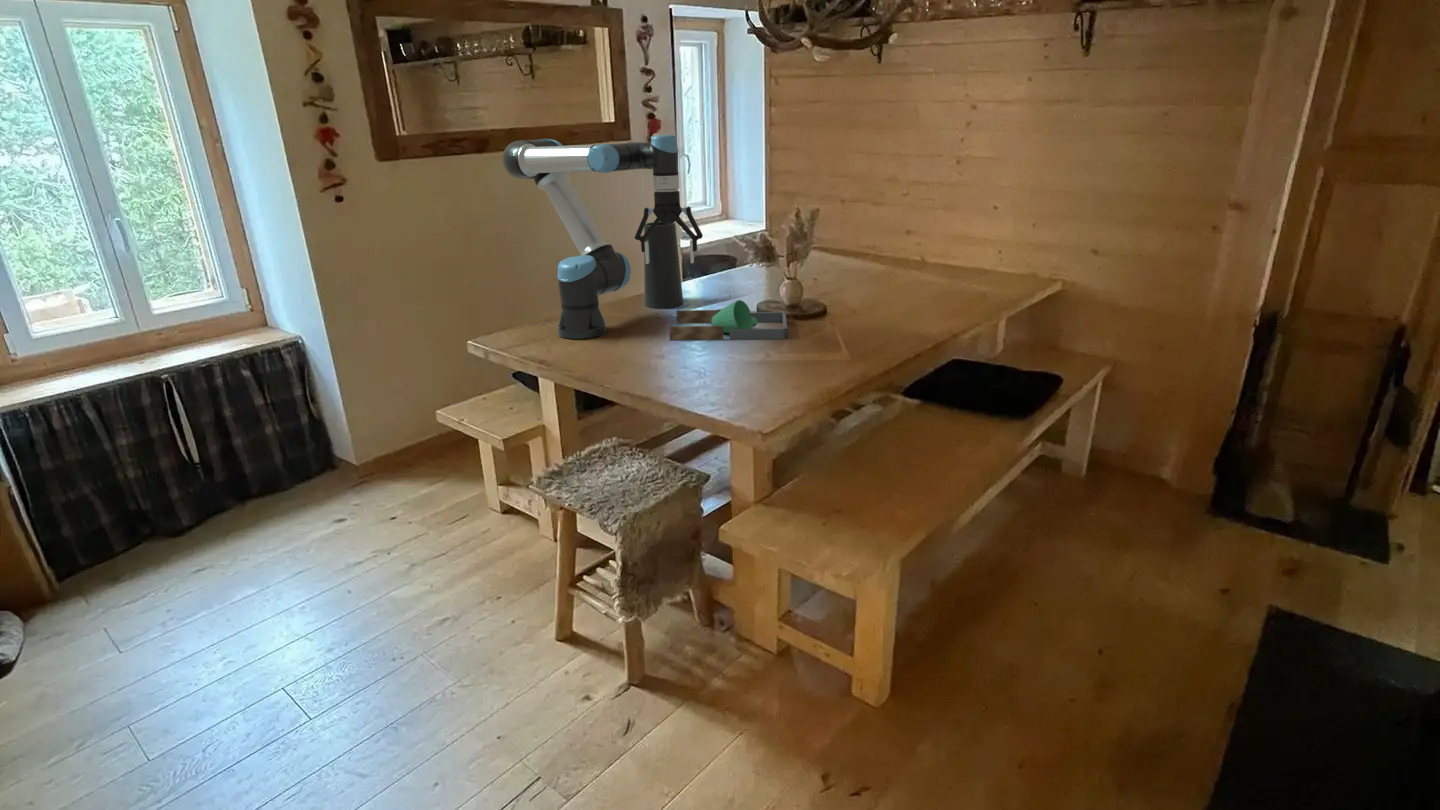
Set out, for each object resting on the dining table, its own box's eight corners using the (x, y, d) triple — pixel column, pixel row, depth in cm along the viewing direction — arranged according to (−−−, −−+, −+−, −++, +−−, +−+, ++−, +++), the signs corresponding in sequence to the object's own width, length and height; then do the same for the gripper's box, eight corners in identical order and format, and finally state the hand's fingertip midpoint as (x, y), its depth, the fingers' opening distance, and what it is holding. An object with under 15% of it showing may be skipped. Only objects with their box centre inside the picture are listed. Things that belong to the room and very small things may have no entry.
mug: (708, 336, 239) (735, 329, 233) (705, 305, 240) (732, 297, 235) (735, 343, 251) (762, 336, 245) (732, 313, 252) (759, 305, 246)
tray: (729, 339, 236) (729, 329, 235) (732, 321, 256) (732, 312, 255) (787, 338, 235) (787, 328, 234) (785, 321, 255) (785, 311, 254)
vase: (660, 313, 270) (655, 227, 261) (637, 307, 280) (631, 224, 270) (691, 306, 279) (687, 223, 269) (667, 301, 288) (663, 220, 279)
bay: (669, 340, 237) (669, 327, 235) (677, 322, 257) (676, 310, 256) (723, 339, 236) (722, 326, 234) (726, 321, 256) (726, 309, 255)
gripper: (622, 192, 230) (627, 265, 237) (708, 190, 228) (710, 264, 236) (626, 190, 237) (631, 261, 244) (709, 188, 236) (711, 260, 243)
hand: (669, 262), depth 240 cm, fingers open, 13 cm apart
